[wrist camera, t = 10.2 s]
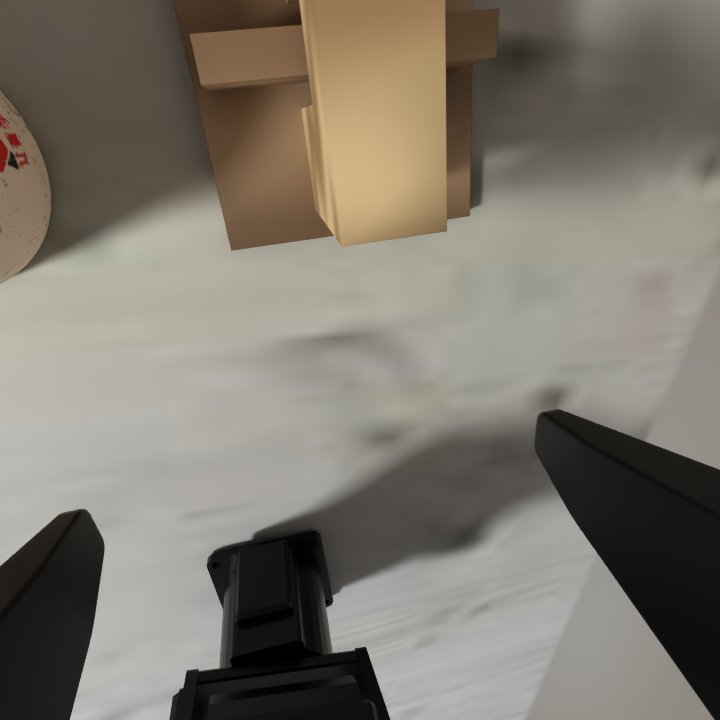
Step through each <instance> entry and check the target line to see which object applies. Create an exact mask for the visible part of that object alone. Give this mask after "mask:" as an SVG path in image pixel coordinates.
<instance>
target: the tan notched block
mask: <svg viewBox="0 0 720 720" xmlns="http://www.w3.org/2000/svg"><path fill="white" fill-rule="evenodd" d="M286 1H287V5H289V4H300V12H301V20H302V27H303V35H304V43H305V51H306V59H307V67H308V74H309V82H310V90H311V98H312V105H310V106H307V107H304V108H302V117H303V124H304V131H305V138H306V146H307V153H308V160H309V167H310V175H311V182H312V189H313V196H314V204H315V210H316V211H317V212H318V214H319V215H320V217H321V218H322V219H323V221H324V222H325V224H326V225H327V226H328V228H329V229H330V230H331V232H332V233H333V235H334V236H335V237H336V239H337V240H338V242H339V243H340V244H341V246H342V247H343V246H350V245H357V244H364V243H370V242H377V241H384V240H390V239H397V238H404V237H411V236H417V235H424V234H431V233H438V232H444V231H447V186H446V46H445V0H286Z"/></svg>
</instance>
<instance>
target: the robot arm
mask: <svg viewBox="0 0 720 720" xmlns="http://www.w3.org/2000/svg"><path fill="white" fill-rule="evenodd" d="M535 450H536V453H537V455H538V457H539V459H540V461H541V463H542V464H543V466H544V468H545V470H546V472H547V473H548V475H549V477H550V479H551V481H552V482H553V484H554V486H555V488H556V490H557V491H558V493H559V495H560V497H561V499H562V500H563V502H564V504H565V506H566V507H567V509H568V511H569V512H570V514H571V516H572V517H573V519H574V520H575V522H576V523H577V525H578V526H579V528H580V529H581V531H582V532H583V533H584V535H585V536H586V538H587V539H588V541H589V542H590V543H591V545H592V546H593V548H594V549H595V550H596V552H597V553H598V555H599V556H600V558H601V559H602V560H603V562H604V563H605V565H606V566H607V567H608V569H609V570H610V572H611V573H612V575H613V576H614V578H615V579H616V580H617V582H618V583H619V584H620V586H621V587H622V589H623V590H624V592H625V593H626V595H627V596H628V597H629V599H630V600H631V602H632V603H633V605H634V606H635V607H636V609H637V610H638V612H639V613H640V614H641V616H642V617H643V619H644V620H645V622H646V623H647V624H648V626H649V627H650V629H651V630H652V632H653V633H654V634H655V636H656V637H657V639H658V640H659V642H660V643H661V644H662V646H663V647H664V649H665V650H666V652H667V653H668V654H669V656H670V657H671V658H672V660H673V661H674V663H675V664H676V666H677V667H678V669H679V670H680V671H681V673H682V674H683V676H684V677H685V679H686V680H687V681H688V683H689V684H690V685H691V687H692V689H693V690H694V691H695V693H696V694H697V696H698V697H699V698H700V700H701V701H702V703H703V704H704V706H705V707H706V708H707V710H708V711H709V713H710V714H711V715H712V717H713V718H714V720H720V470H719V469H716V468H714V467H711V466H708V465H705V464H703V463H700V462H698V461H695V460H692V459H690V458H687V457H684V456H682V455H679V454H676V453H674V452H671V451H669V450H666V449H663V448H661V447H658V446H655V445H652V444H650V443H647V442H645V441H642V440H639V439H637V438H634V437H632V436H629V435H626V434H624V433H621V432H618V431H616V430H613V429H610V428H608V427H605V426H602V425H600V424H597V423H594V422H592V421H589V420H587V419H584V418H581V417H579V416H576V415H573V414H571V413H568V412H565V411H563V410H560V409H554V410H549V411H545V412H541V413H540V414H539V415H538V417H537V424H536V434H535ZM310 540H311V541H310ZM103 558H104V541H103V538H102V536H101V534H100V532H99V530H98V528H97V526H96V524H95V522H94V520H93V519H92V517H91V515H90V513H89V512H88V511H87V510H85V509H78V510H73V511H68V512H64V513H61V514H59V515H58V516H57V517H56V518H54V519H53V520H52V521H51V522H50V523H49V524H48V525H46V526H45V527H44V528H43V529H42V530H41V531H40V532H39V533H37V534H36V535H35V536H34V537H33V538H32V539H31V540H29V541H28V542H27V543H26V544H25V545H24V546H23V547H22V548H20V549H19V550H18V551H17V552H16V553H15V554H14V555H12V556H11V557H10V558H9V559H8V560H7V561H6V562H4V563H3V564H2V565H1V566H0V720H70V716H71V713H72V709H73V705H74V701H75V697H76V693H77V690H78V686H79V682H80V678H81V674H82V671H83V667H84V663H85V659H86V655H87V652H88V648H89V643H90V639H91V635H92V630H93V624H94V618H95V612H96V605H97V598H98V591H99V585H100V578H101V571H102V564H103ZM215 562H218V563H215ZM207 568H208V571H209V574H210V576H211V579H212V582H213V584H214V587H215V589H216V592H217V595H218V597H219V600H220V602H221V605H222V608H223V622H222V637H221V652H220V668H219V669H211V670H204V671H199V669H194V670H187V672H186V677H185V683H184V688H183V689H180V690H179V693H177V694H176V695H174V696H173V700H172V707H171V714H170V720H390V718H389V714H388V711H387V708H386V705H385V702H384V699H383V696H382V693H381V691H380V688H379V685H378V682H377V679H376V676H375V673H374V670H373V667H372V664H371V661H370V658H369V655H368V652H367V649H366V647H361V648H355V650H354V651H346V652H339V653H333V652H332V645H331V638H330V632H329V625H328V618H327V611H326V607H329V606H330V605H332V603H333V597H332V592H331V587H330V581H329V576H328V571H327V566H326V561H325V556H324V551H323V546H322V541H321V536H320V534H319V533H318V532H316V531H310V532H306V533H301V534H297V535H293V536H288V537H284V538H280V539H275V540H271V541H267V542H262V543H258V544H254V545H249V546H245V547H241V548H236V549H232V550H228V551H223V552H219V553H215V554H212V555H210V556H209V557H208V560H207Z"/></svg>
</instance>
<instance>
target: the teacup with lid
mask: <svg viewBox="0 0 720 720" xmlns="http://www.w3.org/2000/svg"><path fill="white" fill-rule="evenodd" d="M50 214H51V190H50V183H49V178H48V174H47V169H46V166H45V163H44V160H43V157H42V154H41V152H40V150H39V147H38V145H37V143H36V141H35V139H34V137H33V135H32V133H31V132H30V130H29V128H28V126H27V125H26V123H25V122H24V120H23V119H22V117H21V115H20V114H19V113H18V112H17V110H16V109H15V108H14V106H13V105H12V104H11V102H10V101H9V100H8V99H7V98H6V97H5V95H4V94H3V93H2V92H1V91H0V284H1V283H3V282H5V281H6V280H8V279H9V278H11V277H12V276H14V275H15V274H17V273H18V272H19V271H20V270H21V269H23V268H24V267H25V266H26V265H27V264H28V263H29V261H30V260H31V259H32V258H33V257H34V256H35V254H36V253H37V251H38V250H39V248H40V246H41V244H42V242H43V240H44V238H45V235H46V232H47V229H48V225H49V221H50Z"/></svg>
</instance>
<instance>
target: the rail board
mask: <svg viewBox="0 0 720 720" xmlns="http://www.w3.org/2000/svg"><path fill="white" fill-rule="evenodd" d="M174 4H175V9H176V13H177V17H178V22H179V26H180V30H181V35H182V39H183V43H184V48H185V52H186V56H187V61H188V65H189V69H190V74H191V78H192V82H193V87H194V91H195V95H196V99H197V104H198V108H199V112H200V117H201V121H202V125H203V130H204V134H205V138H206V143H207V147H208V151H209V156H210V160H211V164H212V169H213V173H214V177H215V182H216V186H217V190H218V195H219V199H220V203H221V208H222V212H223V216H224V221H225V225H226V229H227V234H228V238H229V242H230V247H231V251H232V250H239V249H245V248H252V247H259V246H266V245H273V244H280V243H287V242H294V241H301V240H308V239H315V238H321V237H328V236H334V235H333V233H332V232H331V230H330V229H329V228H328V226H327V225H326V224H325V222H324V221H323V219H322V218H321V217H320V215H319V214H318V212H317V211H316V210H315V204H314V196H313V189H312V182H311V175H310V167H309V160H308V153H307V146H306V138H305V131H304V124H303V117H302V108H304V107H307V106H310V105H312V98H311V90H310V82H309V74H308V67H307V59H306V51H305V43H304V35H303V27H302V20H301V12H300V4H289V5H287V1H286V0H174ZM498 14H499V9H489V10H476V11H473V0H445V46H446V186H447V219H453V218H460V217H467V216H470V170H471V107H472V64H473V63H476V62H480V61H483V60H487V59H490V58H493V57H497V41H498Z"/></svg>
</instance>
